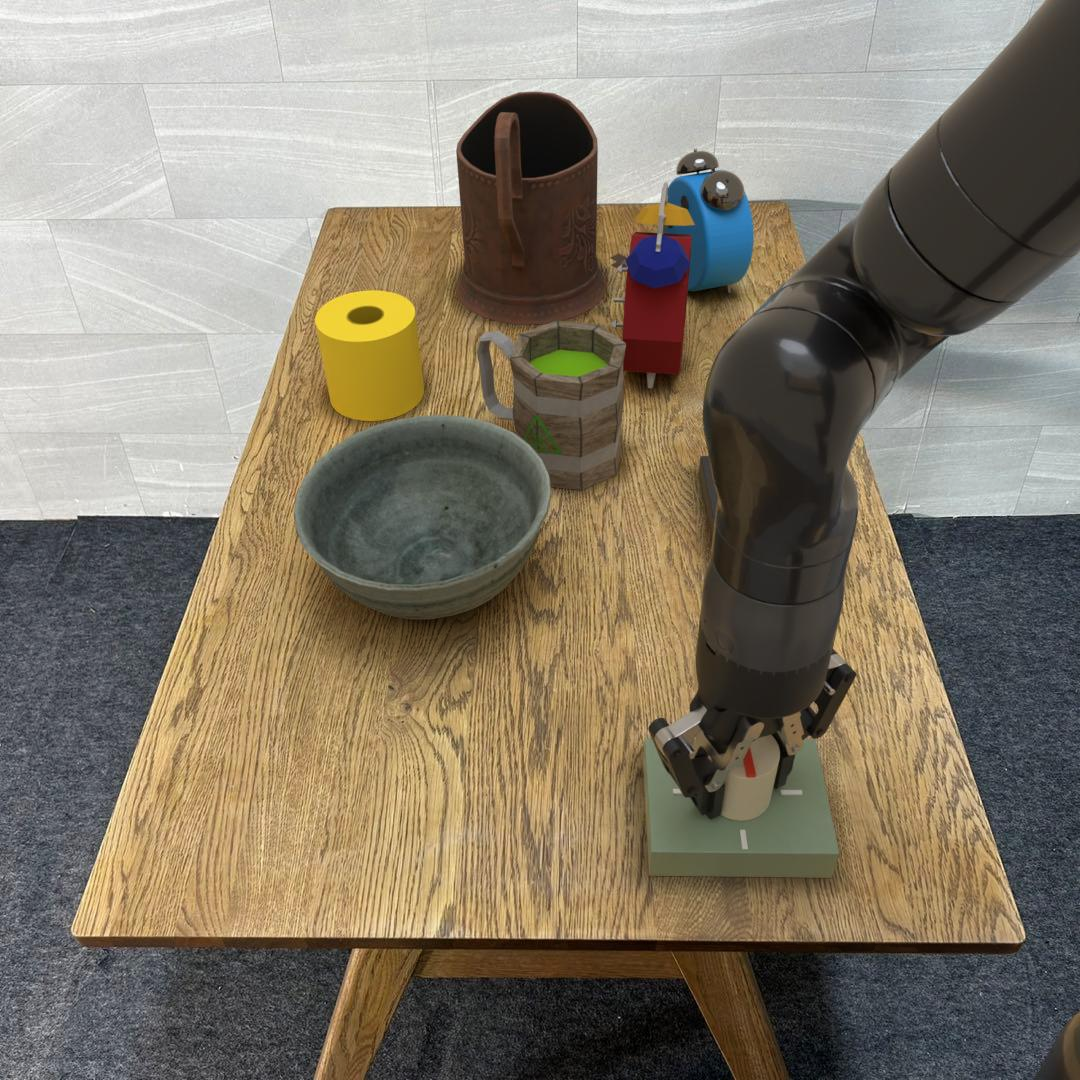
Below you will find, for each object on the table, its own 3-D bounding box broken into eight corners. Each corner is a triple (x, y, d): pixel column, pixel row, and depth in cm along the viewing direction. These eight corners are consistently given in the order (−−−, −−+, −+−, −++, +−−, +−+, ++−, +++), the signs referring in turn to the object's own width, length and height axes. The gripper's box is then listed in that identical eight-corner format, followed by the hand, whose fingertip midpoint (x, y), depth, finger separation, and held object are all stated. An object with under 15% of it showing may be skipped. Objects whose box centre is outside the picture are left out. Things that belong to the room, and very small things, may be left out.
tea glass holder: (614, 253, 133) (619, 46, 116) (593, 355, 116) (596, 129, 99) (471, 246, 135) (457, 42, 119) (430, 345, 118) (406, 122, 101)
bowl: (598, 551, 92) (600, 462, 85) (457, 710, 79) (446, 620, 73) (414, 474, 101) (402, 387, 94) (260, 606, 88) (234, 517, 81)
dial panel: (809, 764, 75) (816, 737, 73) (832, 878, 68) (840, 852, 66) (642, 762, 76) (644, 736, 73) (648, 876, 69) (651, 850, 67)
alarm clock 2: (678, 404, 108) (693, 222, 95) (596, 398, 110) (599, 218, 96) (686, 329, 119) (700, 157, 106) (611, 324, 120) (615, 153, 107)
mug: (644, 445, 103) (650, 340, 95) (586, 505, 97) (587, 398, 89) (515, 397, 110) (510, 295, 102) (452, 450, 104) (442, 345, 95)
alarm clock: (748, 304, 123) (763, 180, 113) (699, 313, 122) (711, 189, 112) (701, 255, 132) (712, 136, 122) (656, 263, 131) (663, 144, 121)
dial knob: (699, 766, 72) (706, 720, 68) (763, 763, 72) (773, 717, 68) (709, 822, 68) (716, 776, 65) (776, 819, 68) (787, 774, 65)
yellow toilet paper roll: (323, 421, 108) (307, 342, 101) (337, 368, 115) (323, 291, 109) (419, 420, 107) (409, 340, 101) (428, 366, 115) (419, 289, 108)
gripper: (830, 536, 63) (793, 713, 74) (623, 616, 59) (618, 791, 70) (915, 616, 58) (861, 793, 69) (695, 711, 53) (676, 882, 65)
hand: (739, 791), depth 70 cm, fingers closed on dial knob, 4 cm apart
